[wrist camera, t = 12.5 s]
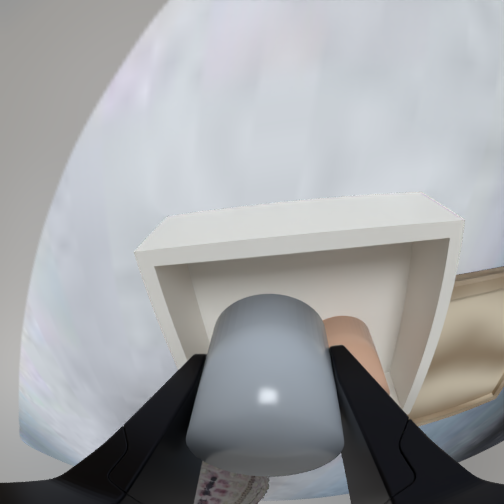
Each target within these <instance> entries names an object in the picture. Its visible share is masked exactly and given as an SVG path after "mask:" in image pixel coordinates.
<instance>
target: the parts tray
mask: <svg viewBox="0 0 504 504" xmlns="http://www.w3.org/2000/svg"><path fill="white" fill-rule="evenodd" d="M503 387H504V266H503V267H498V268H493V269H487V270H482V271H477V272H471V273H465V274H459V275H456V278H455V282H454V287H453V291H452V295H451V299H450V303H449V307H448V311H447V314H446V318H445V321H444V325H443V328H442V331H441V334H440V338H439V341H438V344H437V347H436V350H435V353H434V355H433V358H432V361H431V364H430V366H429V369H428V372H427V374H426V377H425V379H424V382H423V384H422V387H421V389H420V391H419V394H418V396H417V398H416V400H415V403H414V405H413V407H412V409H411V411H410V413H409V414H407V415H408V416H409V419H412V421H413V422H414V423H415V424H416V425H417V426H421V425H425V424H428V423H431V422H435V421H438V420H441V419H444V418H447V417H450V416H453V415H456V414H459V413H461V412H464V411H467V410H469V409H472V408H474V407H477V406H479V405H482V404H484V403H487V402H489V401H491V400H493V399H496V398H497V396H498V395H499V393H500V391H501V390H502V388H503ZM409 419H408V420H409Z"/></svg>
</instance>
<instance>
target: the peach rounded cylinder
mask: <svg viewBox="0 0 504 504" xmlns="http://www.w3.org/2000/svg"><path fill="white" fill-rule="evenodd" d="M322 321H323V323H324V326H325V329H326V334H327V340H328V345H329V348H330V346H334V345H344V346H345V347H346V348H347V349H348V350H349V351H350V353H351V354H352V355H353V356H354V357H355V358H356V359H357V360H358V361H359V362H360V363H361V365H362V366H363V367H364V368H365V369H366V370H367V371H368V372H369V373H370V374H371V376H372V377H373V378H374V379H375V380H376V381H377V382H378V383H379V384H380V385H381V387H382V388H383V389H384V390H385V391H386V392H387V393H388V394H389V395H390V390H389V387H388V384H387V381H386V378H385V374H384V371H383V368H382V365H381V362H380V359H379V357H378V354H377V351H376V348H375V345H374V342H373V339H372V337H371V334H370V331H369V329H368V327H367V325H366V324H365V323H364V322H363V321H361V320H360V319H358V318H355V317H351V316H335V317H331V318H327V319H325V320H322Z"/></svg>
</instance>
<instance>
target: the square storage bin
mask: <svg viewBox="0 0 504 504" xmlns="http://www.w3.org/2000/svg"><path fill="white" fill-rule="evenodd" d="M464 224H465V220H464V219H463V218H461V217H460V216H458V215H457V214H455V213H454V212H452V211H451V210H449V209H448V208H446V207H445V206H443V205H442V204H440V203H439V202H437V201H436V200H434V199H432V198H431V197H429V196H427V195H426V194H424V193H423V192H403V193H384V194H368V195H353V196H340V197H327V198H316V199H305V200H294V201H284V202H274V203H265V204H256V205H247V206H238V207H230V208H222V209H214V210H206V211H199V212H192V213H184V214H177V215H170V216H167V217H166V218H165V219H164V220H163V221H162V222H161V223H160V224H159V225H158V226H157V227H156V228H155V229H154V230H153V232H152V233H151V234H150V235H149V236H148V237H147V238H146V239H145V240H144V241H143V242H142V243H141V244H140V245H139V246H138V248H137V249H136V250H135V251H134V255H135V258H136V261H137V264H138V267H139V270H140V273H141V276H142V279H143V282H144V285H145V288H146V290H147V293H148V296H149V299H150V302H151V304H152V307H153V310H154V312H155V315H156V318H157V320H158V323H159V325H160V328H161V330H162V333H163V335H164V338H165V340H166V343H167V345H168V347H169V350H170V352H171V354H172V357H173V359H174V361H175V364H176V366H177V368H178V370H179V369H180V368H181V367H182V366H183V365H184V364H185V363H186V362H187V361H188V360H189V359H190V358H191V357H192V356H193V355H194V354H207V353H208V349H209V345H210V341H211V337H212V334H213V330H214V326H215V323H216V321H217V319H218V317H219V316H220V314H221V313H222V312H223V311H224V310H225V309H226V308H227V307H228V306H230V305H231V304H233V303H234V302H236V301H238V300H240V299H243V298H246V297H249V296H253V295H259V294H280V295H286V296H290V297H293V298H296V299H298V300H300V301H303V302H304V303H306V304H308V305H309V306H310V307H312V308H313V309H314V310H315V311H316V312H317V313H318V314H319V316H320V317H321V319H322V320H325V319H327V318H331V317H335V316H351V317H355V318H358V319H360V320H361V321H363V322H364V323H365V324H366V325H367V327H368V329H369V331H370V334H371V337H372V339H373V342H374V345H375V348H376V351H377V354H378V357H379V359H380V362H381V365H382V368H383V371H384V374H385V378H386V381H387V384H388V387H389V390H390V396H391V398H392V399H393V400H394V401H395V402H396V403H397V404H398V405H399V406H400V407H401V409H402V410H403V411H404V412H405V413H406V414H409V413H410V411H411V409H412V407H413V405H414V403H415V400H416V398H417V396H418V394H419V391H420V389H421V387H422V384H423V382H424V379H425V377H426V374H427V372H428V369H429V366H430V364H431V361H432V358H433V355H434V353H435V350H436V347H437V344H438V341H439V338H440V334H441V331H442V328H443V325H444V321H445V318H446V314H447V311H448V307H449V303H450V299H451V295H452V291H453V287H454V282H455V278H456V273H457V268H458V263H459V257H460V252H461V245H462V239H463V232H464Z"/></svg>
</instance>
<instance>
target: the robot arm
mask: <svg viewBox="0 0 504 504" xmlns="http://www.w3.org/2000/svg"><path fill="white" fill-rule="evenodd" d="M329 351H330V356H331V362H332V367H333V373H334V379H335V384H336V390H337V396H338V402H339V409H340V415H341V422H342V429H343V436H344V447H343V450H342V451H341V454H342V459H343V464H344V469H345V474H346V479H347V484H348V489H349V494H350V500H351V504H504V484H499V483H493V482H489V481H485V480H482V479H480V478H478V477H476V476H474V475H473V474H471V473H470V472H469V471H467V470H466V469H465V468H464V467H462V466H461V465H460V464H459V463H458V462H456V461H455V460H454V459H453V458H452V457H450V456H449V455H448V454H447V453H445V452H444V451H443V450H442V449H441V448H440V447H438V446H437V445H436V444H435V443H434V442H433V441H432V440H431V439H429V438H428V437H427V436H426V434H425V433H424V432H423V431H422V430H421V429H420V428H419V427H418V426H417V425H416V424H415V423H414V422H413V421H412V419H409V416H408V415H407V414H406V413H405V412H404V411H403V410H402V409H401V407H400V406H399V405H398V404H397V403H396V402H395V401H394V400H393V399H392V398H391V396H390V395H389V394H388V393H387V392H386V391H385V390H384V389H383V388H382V387H381V385H380V384H379V383H378V382H377V381H376V380H375V379H374V378H373V377H372V376H371V374H370V373H369V372H368V371H367V370H366V369H365V368H364V367H363V366H362V365H361V363H360V362H359V361H358V360H357V359H356V358H355V357H354V356H353V355H352V354H351V353H350V351H349V350H348V349H347V348H346V347H345V346H344V345H334V346H330V348H329ZM206 356H207V354H194V355H193V356H192V357H191V358H190V359H189V360H188V361H187V362H186V363H185V364H184V365H183V366H182V367H181V368H180V369H179V370H178V371H177V372H176V373H175V374H174V375H173V376H172V377H171V378H170V379H169V380H168V381H167V382H166V383H165V384H164V385H163V386H162V387H161V388H160V389H159V390H158V391H157V392H156V393H155V394H154V395H153V396H152V397H151V398H150V399H149V400H148V401H147V402H146V403H145V404H144V405H143V406H142V407H141V408H140V409H139V410H138V411H137V412H136V413H135V414H134V415H133V416H132V417H131V418H130V419H129V420H128V421H127V422H126V423H125V424H124V426H122V427H121V428H120V429H119V430H118V431H117V432H116V433H115V434H114V435H113V436H112V437H110V438H109V439H108V440H107V441H106V442H105V443H104V444H103V445H101V446H100V447H99V448H98V449H96V450H95V451H94V452H93V453H91V454H90V455H89V456H87V457H86V458H85V459H83V460H82V461H81V462H79V463H78V464H77V465H75V466H74V467H73V468H71V469H70V470H69V471H67V472H66V473H64V474H62V475H61V476H58V477H56V478H53V479H49V480H40V481H29V482H13V483H0V504H194V500H195V495H196V490H197V485H198V481H199V476H200V471H201V466H202V460H201V459H199V458H198V457H196V456H195V455H194V454H193V453H192V452H191V451H190V450H189V448H188V446H187V444H186V435H187V431H188V427H189V423H190V419H191V415H192V411H193V407H194V403H195V399H196V395H197V391H198V387H199V383H200V379H201V376H202V372H203V368H204V364H205V360H206ZM408 419H409V420H408Z"/></svg>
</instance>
